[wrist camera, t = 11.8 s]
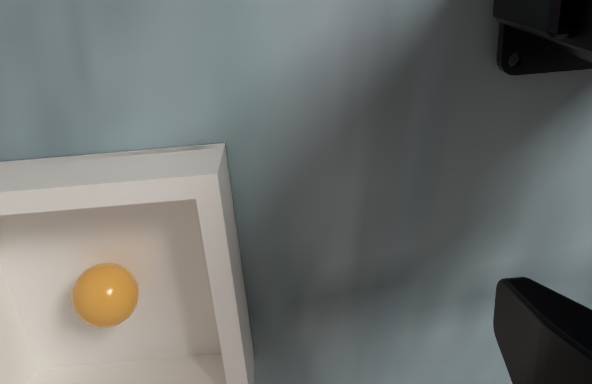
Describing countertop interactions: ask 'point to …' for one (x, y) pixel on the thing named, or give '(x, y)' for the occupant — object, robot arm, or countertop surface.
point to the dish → (145, 240)
